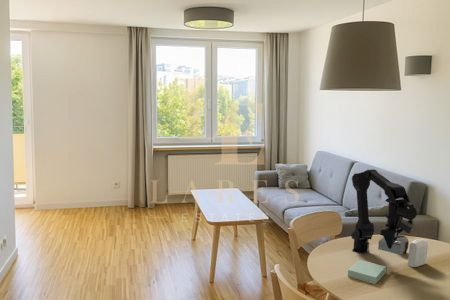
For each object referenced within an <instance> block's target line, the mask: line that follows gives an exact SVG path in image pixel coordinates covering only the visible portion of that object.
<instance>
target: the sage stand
mask: <svg viewBox="0 0 450 300" xmlns="http://www.w3.org/2000/svg"><path fill="white" fill-rule="evenodd" d="M386 266H387V265H386ZM386 266H385V265H382V264H378V263H373V262H369V261H366V260H362V259H358V260H357V261H356V262H355V263H354V264H353V265H352V266H351V267H350V268H348V269H347V270H348V271H347V277H349V278H353V279H356V280H360V281H364V282H365V283H371V284H373V285H376V284H377V283H378V282H379V281H380V279H381V278H383V276H384V275H385V274H386V269H387V267H386Z"/></svg>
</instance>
